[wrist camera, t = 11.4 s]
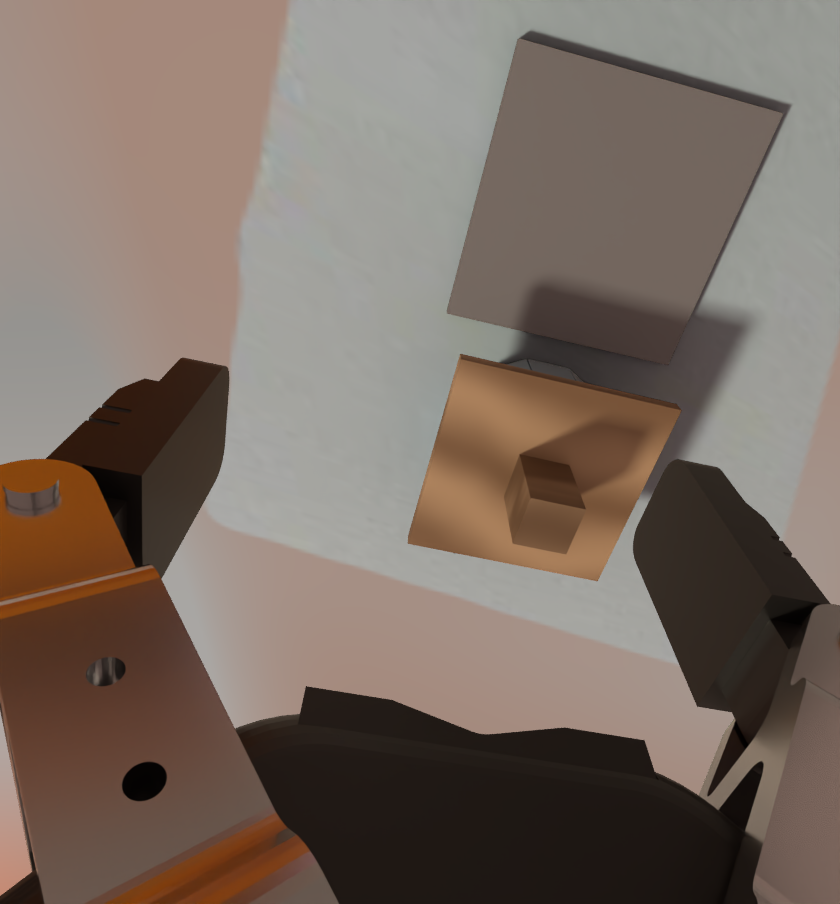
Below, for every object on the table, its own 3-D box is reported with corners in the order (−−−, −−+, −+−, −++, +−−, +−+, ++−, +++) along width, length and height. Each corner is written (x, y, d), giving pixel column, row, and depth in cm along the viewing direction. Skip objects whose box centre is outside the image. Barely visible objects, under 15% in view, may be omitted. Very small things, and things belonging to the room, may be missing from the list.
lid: (460, 353, 34) (465, 394, 29) (676, 404, 35) (714, 450, 31) (408, 535, 40) (405, 593, 35) (594, 572, 41) (615, 633, 37)
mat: (517, 39, 31) (519, 38, 31) (777, 113, 32) (783, 113, 32) (447, 310, 38) (447, 313, 37) (664, 361, 39) (668, 365, 39)
